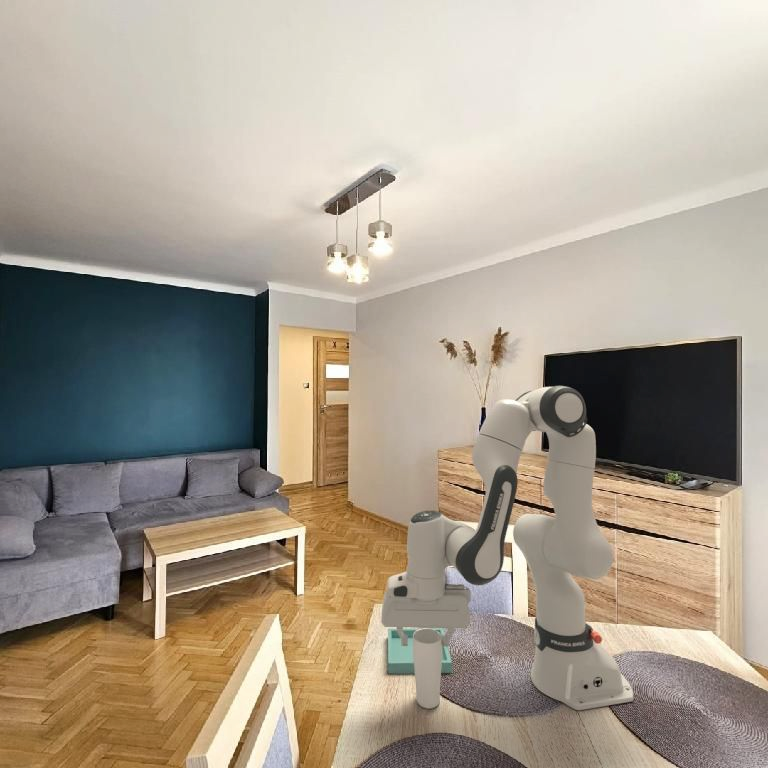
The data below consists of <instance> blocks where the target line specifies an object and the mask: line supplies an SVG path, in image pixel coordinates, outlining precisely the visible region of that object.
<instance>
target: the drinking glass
mask: <svg viewBox="0 0 768 768" xmlns="http://www.w3.org/2000/svg"><path fill="white" fill-rule="evenodd" d="M413 661H414V672H415V673H414V681H415V694H416V695H415V696H416V702H417V703H418V705H419V707H422V708H424V709H434V708H436V707H438V705H439V704H440V701H441V700H440V699H441V693H440V692H441V680H442V679H441V678H442V676H441V675H442V673H441V667H442V636H441V634H440V633H439V632H438V631H436V630H434V629H430V628H423V629H419V630H417V631H415V632H414V634H413Z"/></svg>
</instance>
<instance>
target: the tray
mask: <svg viewBox="0 0 768 768" xmlns="http://www.w3.org/2000/svg"><path fill="white" fill-rule="evenodd" d="M419 629H423V628H416V627H403V631H402V632H403V634H404V635H407V636H408V646H401V638H400V636H399V634H398V633H397V628H387V665H388V666H387V667H388V671H387V672H388V675H389V674H390V675H391V674H393V675H394V674H395V675H396V674H400V675H401V674H403V675H405V674H415V672H414V661H413V634H414V632H415V631H417V630H419ZM430 629H434V630H436V631H438V632H439V633H440V634H441V636H442V635H446V633H445V630H444V628H430ZM452 665H453V663H452V657H451V654H450V650H449V647H445V646H443V645H442V667H441V674H453V666H452Z"/></svg>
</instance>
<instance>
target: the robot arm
mask: <svg viewBox="0 0 768 768" xmlns="http://www.w3.org/2000/svg"><path fill="white" fill-rule="evenodd" d="M587 422H588V417H587V407H586V402H585V400H584V398H583V396H582V395H581V393H580V392H579V391H578V390H576V389H575V388H572V387H569V386H567V385H566V386H564V385H554V386H544V387H540V388H538V389H537V388H536V389H535V390H529V391H527V392H524V393H522V394H521V395H520V396H518V398H516V399H515V400H514V399H509V398H507V399H505V398H504V399H500V400H498V401H496V402H495V403H494V404H493V406H492V407H491V409H490V410H489V412H488V414H487V416H486V417H485V419H484V421H483V423H482V425H481V427H480V430H479V432H478V435H477V436H476V439H475V441H474V445H473V450H472V454H471V460H472V464H473V466H474V469H475V471H476V472H477V473H478V475H479V476H480V477H481V480H482V482H483V484H484V488H485V489H484V490H485V497H484V501H483V503H482V508H481V509H482V510H481V512H480V516H479V520H478V524H477V526H476V529H474V528H472V527H471V526H470V525H468V524H466V523H463V522H460V521H455V520H453V519H450V518H449V517H447V516H446V515H444V514H443V513H441V512H440V511H439V510H438V511H437V510H422V511H419V512H417V513H416V514H414V515H413V516H412V517H411V518H410V520H409V524H408V527H407V538H406V553H407V559H408V562H407V565H406V571H404V572H400V573H397V574H394V575H391V576H389V577H388V579H387V585H386V587H387V589H386V591H385V593H384V595H383V598H382V604H381V620H380V621H381V622H380V623H382V626H383V627H384V628H396V629H397V633H398V634H399V636H400V638H401V646H408V636H407V635H404V634H403V632H402V631H403V628H443V629H444V628H445V629H447V631H446V633H445V635H442V645H443V646H445V647H448V648H450V640H451V638H452V637H453V636H454V634H455V629H467V628H469V626H470V625H471V614H470V605H469V604H470V602H471V600H472V598H471V597H472V594H471V593H472V592H471V590H470V588H469V587H468V586H465V585H464V584H462V583H460V584H459V583H458V584H454V583H446V568H447V567H453V568H454V569H455V570H456V571H458V573H459V574H460V575H461V577H463V579H464V580H465V581H466V582H467V583H469V584H470V585H474V586H484V585H487V584H489V583H492V582H493V581H494V580H496V579H497V577H498V576H499V574H500V573H501V571H502V568H503V565H504V558H505V554H504V553H505V541H506V536H507V532H508V528H509V524H510V519H511V517H512V512H513V508H514V504H515V499H516V496H517V495H516V494H517V491H518V482H519V481H518V467H519V462H520V459H521V455H522V452H523V450H524V447H525V444H526V440H527V439H528V437H529V435H531V434H532V432H536V431H537V432H541V433H546V436H547V439H548V446H549V449H548V453H547V458H546V464H545V471H544V479H543V485H542V491H543V493H544V495H545V496H546V498H547V499H548V500H549V501H550V503H551V504H552V507H553V511H554V517H551V516H549V515H546V514H540V513H524V514H522V515H521V516H519V517H518V519H517V520H516V522H515V523H514V526H513V530H512V535H513V541H514V543H515V545H516V546H517V547H518V549H519V550H520V551H521V553H522V555H523V557H524V558H525V560H526V562H527V565H528V569H529V571H530V574H531V577H532V581H533V582H532V583H533V585H534V590H535V591H534V592H535V604H536V605H535V607H536V609H535V611H536V612H535V613H536V617H534V629H533V630H534V631H533V633H534V636H533V637H534V642H535V652H534V653H535V654H534V659H533V663H532V668H531V671H530V680H531V682H532V684H533V686H534V687H536V689H538V691H540V692H541V693H543V694H544V695H546V696H548V697H549V698H552V699H554V700H556V701H559V702H561V703H564V704H565V705H567V706H568V707H570V708H571V709H573V710H576V711H583V710H584V711H585V710H589V709H595V708H601V707H605V706H606V707H607V706H611V705H618V704H624V703H630V702H633V701H634V698H635V697H634V696H635V695H634V690H633V688H632V686H631V684H630V683H629V681H628V680H627V679H626V677H625V676H624V675H623V674H622V673H621V670H620V667H619V665H618V663H617V661H616V660H615V658H614V656H612V654H611V653H610V652H609V651H608V650H607V649H606V648H605V647H603V646H602V645H601V643H602V642H603V637H602V636H601V634H599V632H598V631H595V630H594V629H593V628H592V626H591V625H590V624H588V623H587V622H586V598H585V594H584V592H583V590H582V588H581V587H580V585H579V584H578V583H577V581H576V580H575V579H574V576H575V577H580V578H584V579H589V580H597V581H598V580H600V579H603V578H604V577H605V576H606V575H607V574H608V573H609V572H610V571H611V569H612V567H613V563H614V553H613V549H612V546H611V544H610V541H609V540H608V539H607V538H606V537H605V535H604V534H603V533H602V531H601V529H600V527H599V524H598V523H597V520H596V517H595V514H594V513H595V512H594V509H593V499H592V498H593V487H594V486H593V485H594V477H595V468H596V459H597V445H596V443H597V442H596V433H595V431H594V429H593V428H592V427H591V426H590V425H589V424H587Z"/></svg>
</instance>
